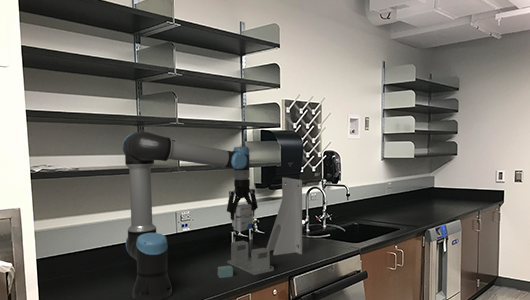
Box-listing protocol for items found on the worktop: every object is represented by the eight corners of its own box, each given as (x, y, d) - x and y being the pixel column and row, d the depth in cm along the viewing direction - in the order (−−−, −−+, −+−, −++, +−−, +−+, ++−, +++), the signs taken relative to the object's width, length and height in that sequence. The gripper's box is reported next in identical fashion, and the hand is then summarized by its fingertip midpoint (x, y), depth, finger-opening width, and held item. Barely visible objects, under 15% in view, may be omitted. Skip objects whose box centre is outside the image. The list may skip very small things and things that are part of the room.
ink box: (244, 227, 207) (244, 203, 206) (252, 228, 203) (252, 204, 203) (232, 230, 200) (232, 205, 200) (240, 231, 197) (240, 206, 196)
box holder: (254, 275, 190) (254, 253, 190) (227, 262, 209) (227, 242, 209) (273, 270, 196) (273, 249, 196) (245, 259, 216) (245, 239, 215)
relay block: (219, 278, 186) (219, 269, 186) (217, 275, 190) (217, 266, 190) (232, 276, 188) (232, 267, 188) (230, 274, 192) (230, 265, 192)
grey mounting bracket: (261, 248, 236) (261, 178, 236) (283, 245, 243) (283, 177, 242) (278, 257, 219) (278, 181, 218) (302, 254, 225) (302, 180, 224)
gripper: (226, 180, 191) (227, 229, 192) (264, 177, 205) (265, 223, 205) (218, 179, 197) (219, 227, 198) (255, 176, 211) (256, 220, 211)
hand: (242, 225), depth 202 cm, fingers closed on ink box, 9 cm apart
